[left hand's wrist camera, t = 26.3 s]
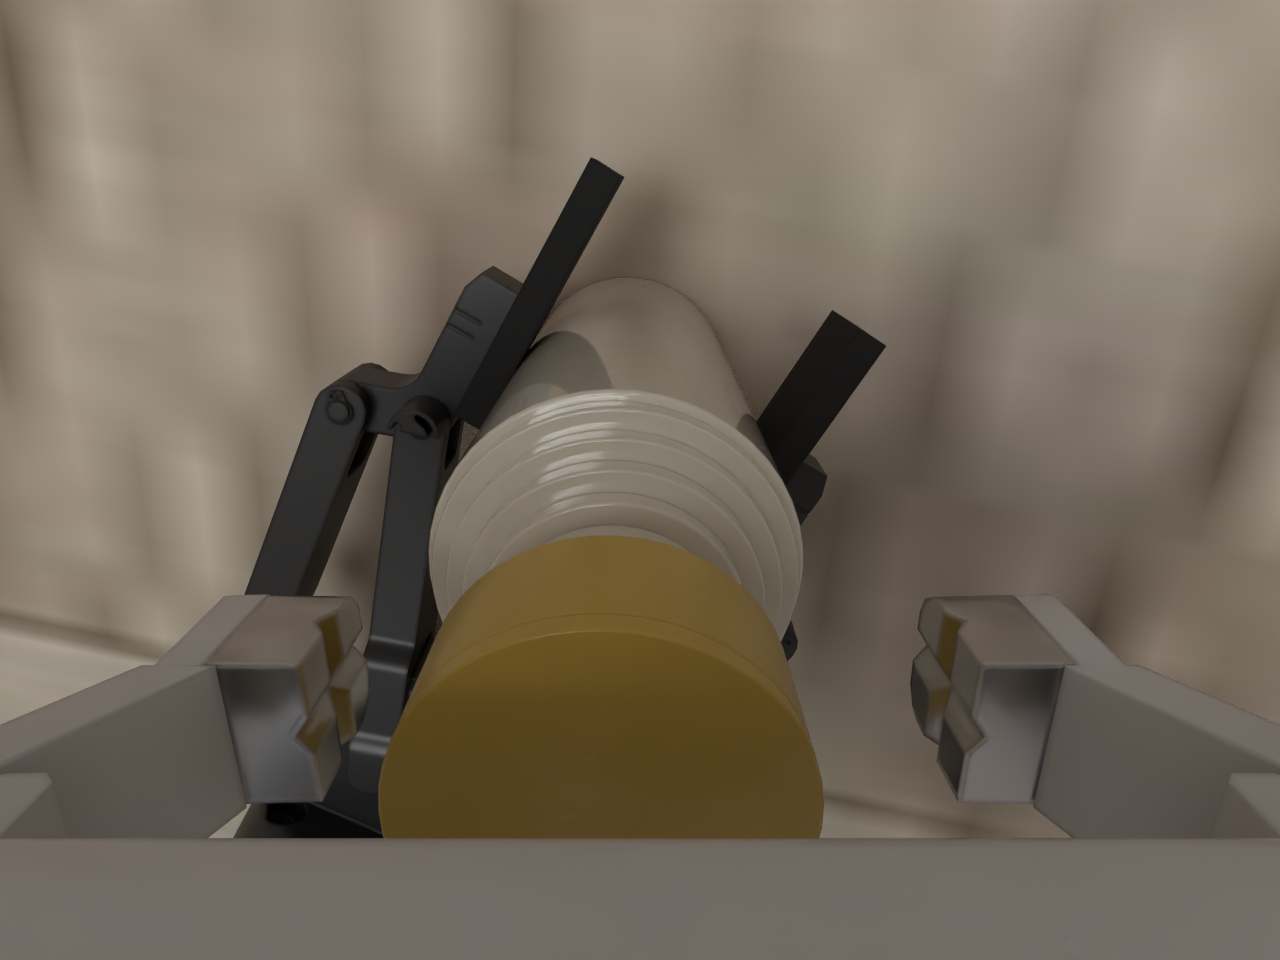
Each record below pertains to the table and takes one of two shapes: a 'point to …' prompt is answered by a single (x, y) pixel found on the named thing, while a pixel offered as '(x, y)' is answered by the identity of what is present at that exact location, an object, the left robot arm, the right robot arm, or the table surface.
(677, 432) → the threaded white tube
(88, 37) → the table surface
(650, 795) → the cap
